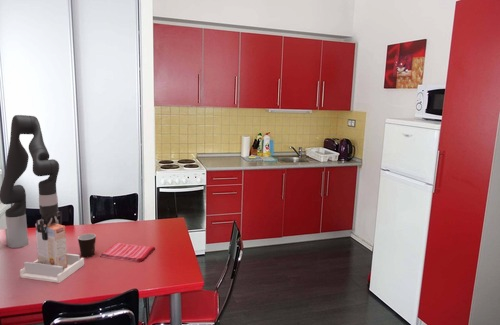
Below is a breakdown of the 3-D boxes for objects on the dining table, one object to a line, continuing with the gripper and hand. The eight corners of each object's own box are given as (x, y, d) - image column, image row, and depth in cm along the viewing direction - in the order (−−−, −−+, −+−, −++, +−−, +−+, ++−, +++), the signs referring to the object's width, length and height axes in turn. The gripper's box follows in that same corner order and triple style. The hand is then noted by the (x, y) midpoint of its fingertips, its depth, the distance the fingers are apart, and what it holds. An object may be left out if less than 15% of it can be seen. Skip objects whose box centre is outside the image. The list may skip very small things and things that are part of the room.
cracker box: (68, 267, 175) (65, 225, 171) (56, 272, 169) (53, 229, 165) (49, 260, 181) (46, 219, 177) (37, 265, 176) (34, 223, 172)
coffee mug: (90, 259, 189) (89, 240, 187) (75, 257, 190) (74, 238, 188) (103, 249, 200) (102, 232, 198) (89, 248, 202) (88, 230, 200)
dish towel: (141, 263, 187) (141, 258, 186) (99, 258, 191) (99, 253, 191) (156, 249, 203) (156, 245, 203) (117, 245, 208) (117, 240, 207)
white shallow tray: (20, 277, 169) (19, 264, 168) (48, 260, 186) (47, 248, 185) (59, 282, 165) (58, 270, 164) (84, 264, 183) (83, 253, 181)
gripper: (52, 197, 177) (54, 230, 180) (29, 206, 163) (32, 242, 166) (66, 199, 176) (68, 232, 179) (44, 208, 162) (47, 243, 165)
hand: (50, 236), depth 172 cm, fingers closed on cracker box, 7 cm apart
